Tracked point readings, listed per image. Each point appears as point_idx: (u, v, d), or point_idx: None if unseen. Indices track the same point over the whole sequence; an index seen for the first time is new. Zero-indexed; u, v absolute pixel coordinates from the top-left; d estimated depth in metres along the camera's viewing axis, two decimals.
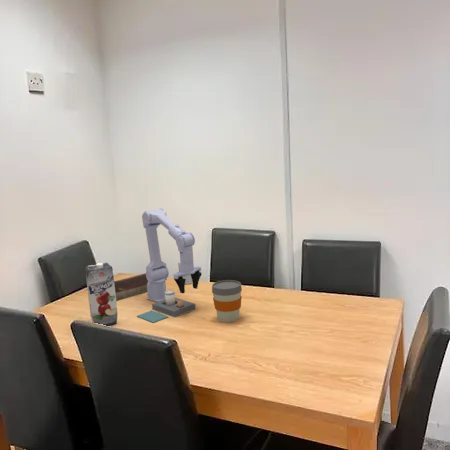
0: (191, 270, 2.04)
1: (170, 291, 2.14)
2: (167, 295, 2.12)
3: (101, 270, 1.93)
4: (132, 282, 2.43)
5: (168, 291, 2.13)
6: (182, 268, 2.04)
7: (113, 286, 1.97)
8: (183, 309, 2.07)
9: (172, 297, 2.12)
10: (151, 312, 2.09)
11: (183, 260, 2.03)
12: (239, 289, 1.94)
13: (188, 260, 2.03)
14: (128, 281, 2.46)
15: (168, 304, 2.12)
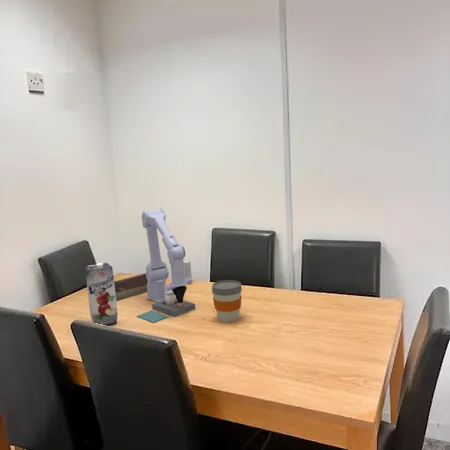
0: (182, 282, 2.05)
1: (170, 291, 2.14)
2: (167, 295, 2.12)
3: (101, 270, 1.93)
4: (132, 282, 2.44)
5: (168, 291, 2.13)
6: (173, 280, 2.05)
7: (113, 286, 1.97)
8: (183, 309, 2.07)
9: (172, 297, 2.12)
10: (151, 312, 2.09)
11: (173, 272, 2.04)
12: (239, 289, 1.94)
13: (178, 272, 2.04)
14: (127, 281, 2.46)
15: (168, 304, 2.12)
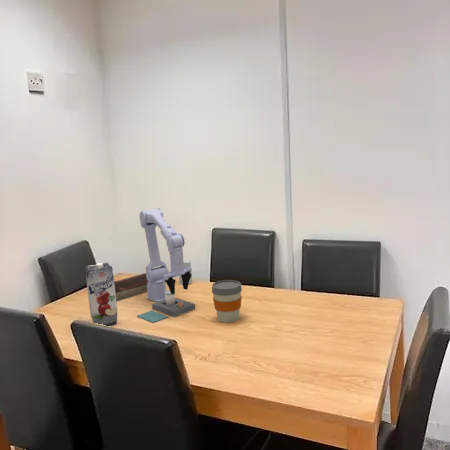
0: (181, 271, 2.04)
1: None
2: (167, 295, 2.12)
3: (101, 270, 1.93)
4: (132, 282, 2.44)
5: (168, 291, 2.13)
6: (172, 269, 2.04)
7: (113, 286, 1.97)
8: (183, 309, 2.07)
9: (172, 297, 2.12)
10: (151, 312, 2.09)
11: (172, 261, 2.03)
12: (239, 289, 1.94)
13: (177, 261, 2.03)
14: (127, 281, 2.46)
15: (168, 304, 2.12)
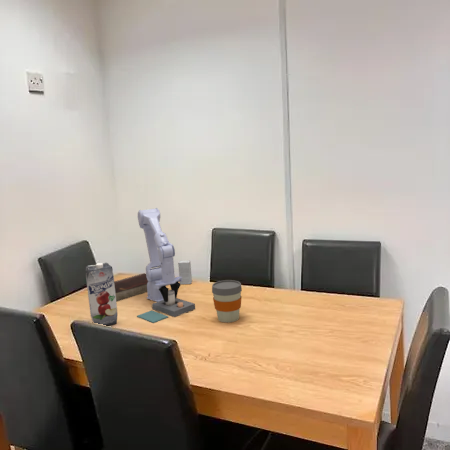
0: (172, 280, 2.10)
1: (170, 291, 2.14)
2: None
3: (101, 270, 1.93)
4: (132, 282, 2.44)
5: (168, 291, 2.13)
6: (163, 278, 2.10)
7: (113, 286, 1.97)
8: (183, 309, 2.07)
9: (172, 297, 2.12)
10: (151, 312, 2.09)
11: (163, 270, 2.09)
12: (239, 289, 1.94)
13: (167, 271, 2.09)
14: (127, 281, 2.45)
15: (168, 304, 2.12)
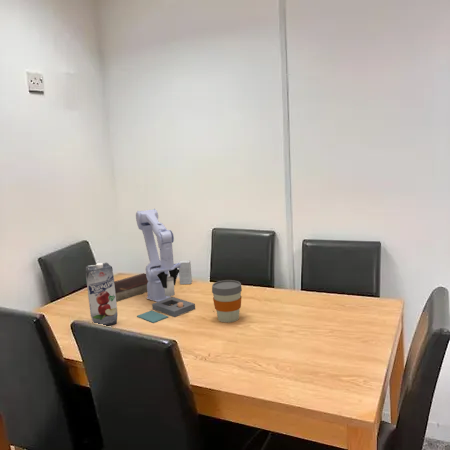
0: (171, 266, 2.09)
1: (169, 277, 2.13)
2: None
3: (101, 270, 1.93)
4: (132, 282, 2.44)
5: (167, 277, 2.12)
6: (162, 264, 2.09)
7: (113, 286, 1.97)
8: (183, 309, 2.07)
9: (171, 283, 2.11)
10: (151, 312, 2.09)
11: (162, 256, 2.08)
12: (239, 289, 1.94)
13: (166, 257, 2.07)
14: (127, 281, 2.45)
15: (167, 290, 2.11)
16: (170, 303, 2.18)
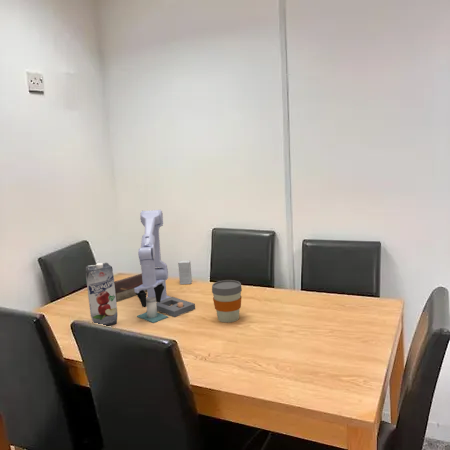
0: (153, 284, 2.00)
1: (151, 298, 2.04)
2: (148, 302, 2.02)
3: (101, 270, 1.93)
4: (132, 282, 2.44)
5: (149, 298, 2.04)
6: (143, 282, 2.00)
7: (113, 286, 1.97)
8: (183, 309, 2.07)
9: (153, 304, 2.02)
10: None
11: (142, 273, 2.00)
12: (239, 289, 1.94)
13: (145, 274, 1.99)
14: (127, 281, 2.45)
15: (149, 312, 2.02)
16: (170, 303, 2.18)
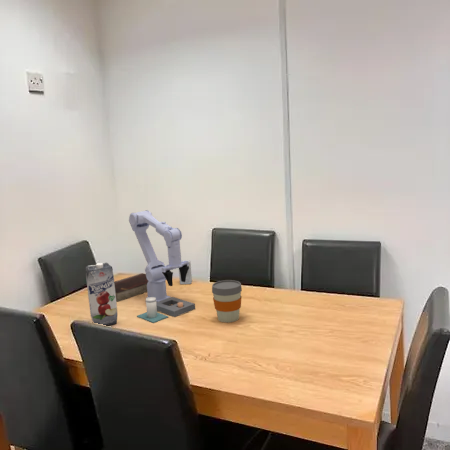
0: (178, 264, 2.13)
1: (151, 298, 2.04)
2: (148, 302, 2.02)
3: (101, 270, 1.93)
4: (132, 282, 2.44)
5: (149, 298, 2.04)
6: (170, 262, 2.13)
7: (113, 286, 1.97)
8: (183, 309, 2.07)
9: (153, 304, 2.02)
10: None
11: (171, 254, 2.11)
12: (239, 289, 1.94)
13: (176, 254, 2.11)
14: (127, 281, 2.45)
15: (149, 312, 2.02)
16: (170, 303, 2.18)
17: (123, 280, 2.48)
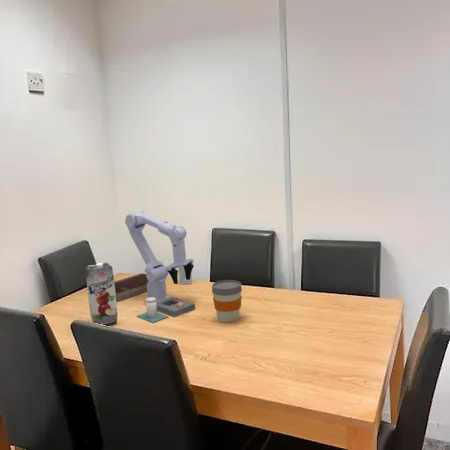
0: (183, 262, 2.15)
1: (151, 298, 2.04)
2: (148, 302, 2.02)
3: (101, 270, 1.93)
4: (132, 282, 2.44)
5: (149, 298, 2.04)
6: (175, 260, 2.15)
7: (113, 286, 1.97)
8: (183, 309, 2.07)
9: (153, 304, 2.02)
10: None
11: (177, 252, 2.14)
12: (239, 289, 1.94)
13: (182, 252, 2.14)
14: (127, 281, 2.45)
15: (149, 312, 2.02)
16: (170, 303, 2.18)
17: (123, 280, 2.48)
